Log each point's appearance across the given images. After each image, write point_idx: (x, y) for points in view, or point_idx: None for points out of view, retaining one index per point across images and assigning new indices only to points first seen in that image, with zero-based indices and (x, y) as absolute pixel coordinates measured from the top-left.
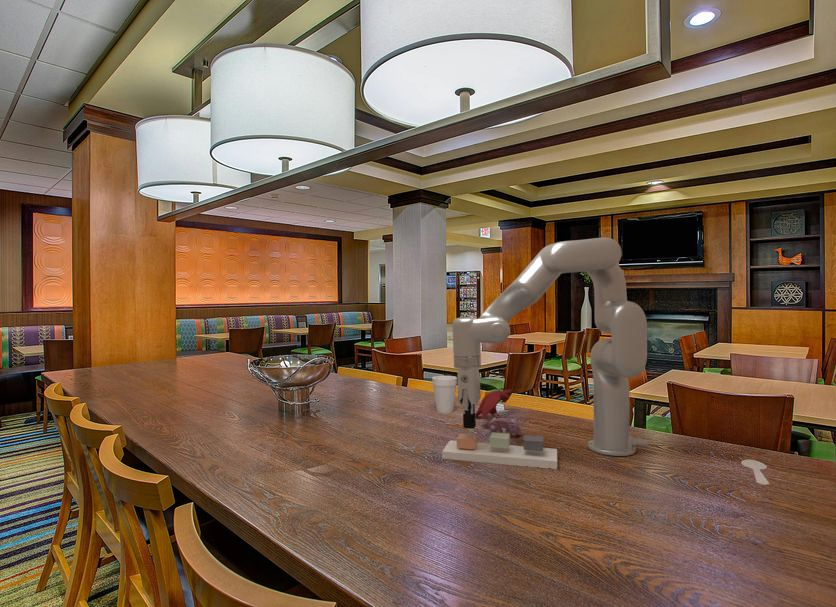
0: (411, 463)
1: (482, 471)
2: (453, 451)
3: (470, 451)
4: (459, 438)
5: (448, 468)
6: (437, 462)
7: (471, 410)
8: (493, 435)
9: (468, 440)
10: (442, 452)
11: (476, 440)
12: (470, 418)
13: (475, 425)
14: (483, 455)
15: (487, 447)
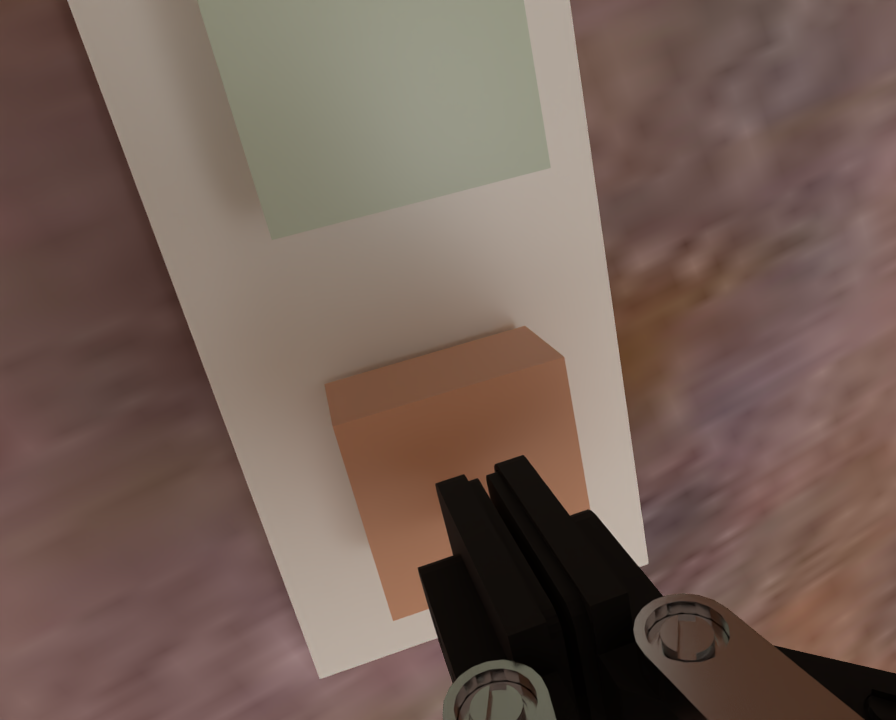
0: (777, 638)
1: (768, 101)
2: (613, 485)
3: None
4: None
5: (788, 383)
6: (702, 513)
7: (777, 672)
8: (419, 149)
9: (573, 423)
10: (645, 555)
11: (410, 383)
12: (646, 583)
13: (460, 482)
14: (594, 185)
15: (334, 246)
